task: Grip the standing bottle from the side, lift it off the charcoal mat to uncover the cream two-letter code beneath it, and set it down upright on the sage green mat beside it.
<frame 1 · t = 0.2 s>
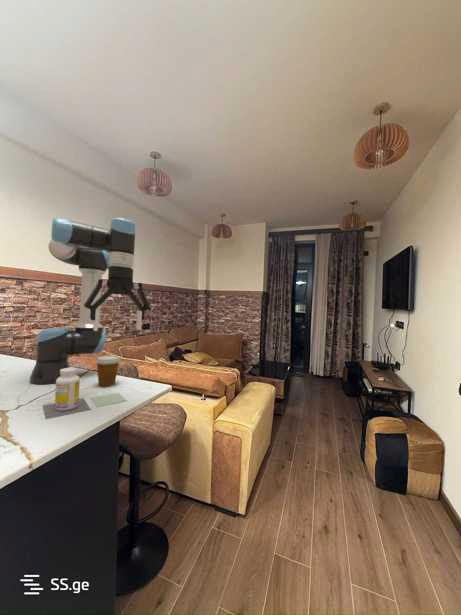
hand: (118, 329, 80), 27 cm above the countertop, tool pointing down, fingers open, 13 cm apart
supplement bottle: (66, 407, 80), resting on code mat
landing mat: (108, 399, 89), on the countertop
disposable coffee cup: (106, 385, 105), on the countertop
code mat: (66, 407, 80), on the countertop
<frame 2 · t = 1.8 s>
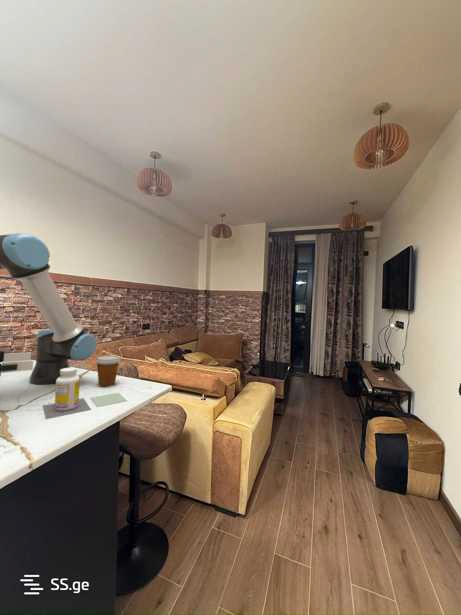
hand: (32, 360, 74), 17 cm above the countertop, tool horizontal, fingers open, 13 cm apart
nothing on the countertop moved.
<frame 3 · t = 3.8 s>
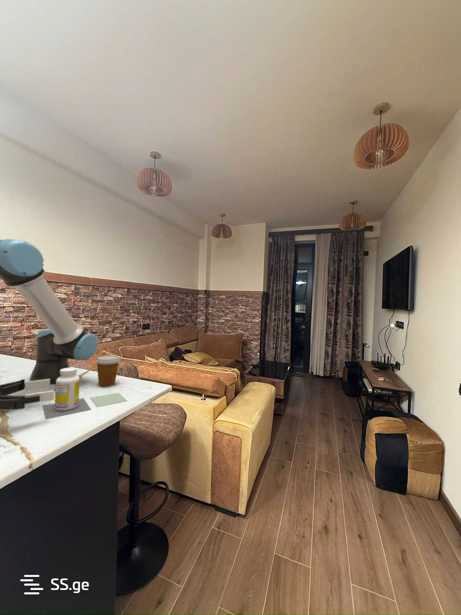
hand: (51, 388, 77), 7 cm above the countertop, tool horizontal, fingers open, 13 cm apart
nothing on the countertop moved.
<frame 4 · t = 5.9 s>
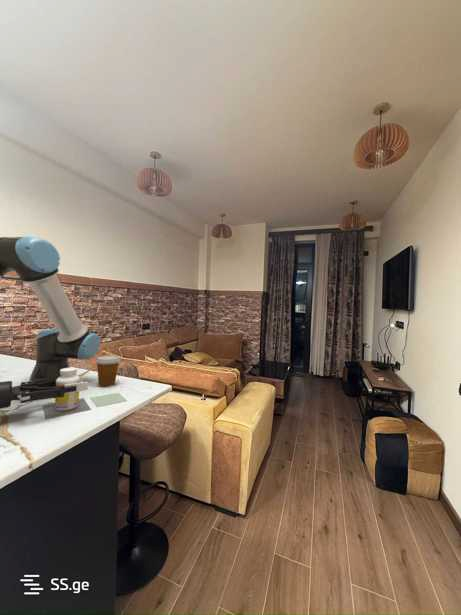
hand: (85, 382, 84), 8 cm above the countertop, tool horizontal, fingers closed on supplement bottle, 7 cm apart
supplement bottle: (66, 407, 80), resting on code mat, touching gripper
everything else where it was.
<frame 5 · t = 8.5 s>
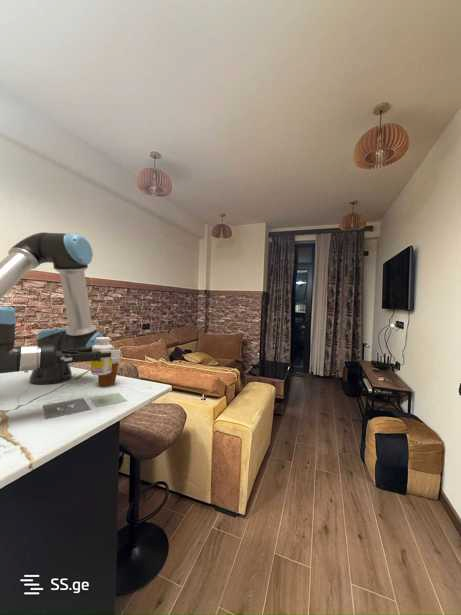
hand: (117, 351, 90), 18 cm above the countertop, tool horizontal, fingers closed on supplement bottle, 7 cm apart
supplement bottle: (101, 373, 86), point 10 cm above the countertop, touching gripper
everything else where it was.
when the fingers open (9 cm above the countertop, at t = 11.2 s): supplement bottle drops 1 cm, resting on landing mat.
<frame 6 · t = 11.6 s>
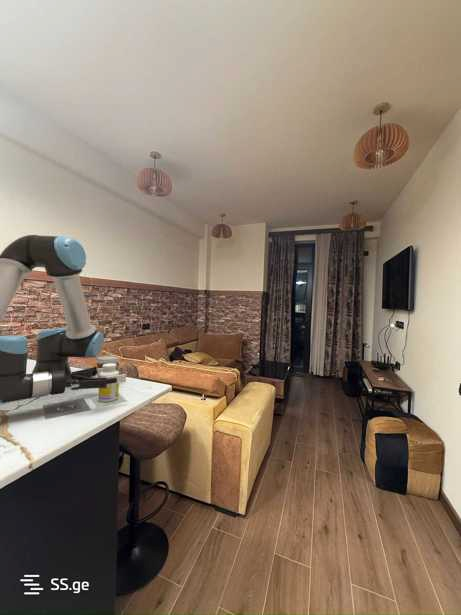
hand: (120, 373, 91), 9 cm above the countertop, tool horizontal, fingers open, 12 cm apart
supplement bottle: (108, 399, 89), resting on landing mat
everything else where it was.
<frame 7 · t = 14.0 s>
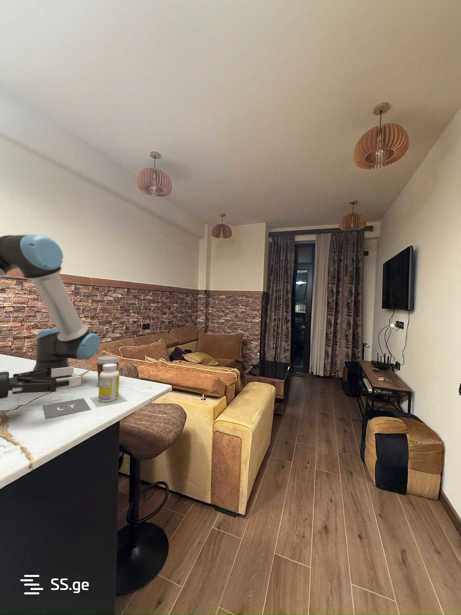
hand: (77, 375, 82), 11 cm above the countertop, tool horizontal, fingers open, 13 cm apart
nothing on the countertop moved.
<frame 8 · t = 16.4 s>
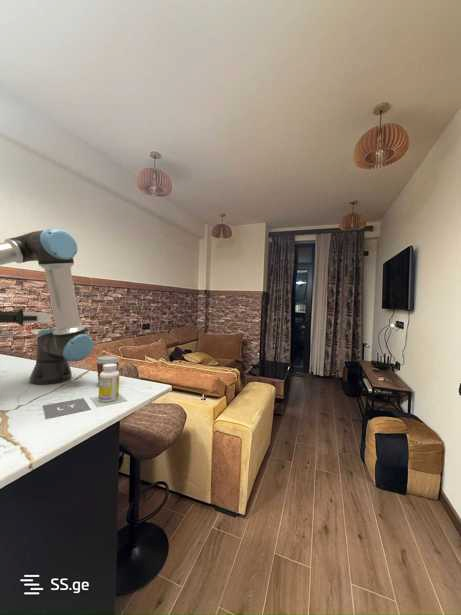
hand: (48, 317, 83), 30 cm above the countertop, tool horizontal, fingers open, 13 cm apart
nothing on the countertop moved.
at the end: supplement bottle 0.1 cm off-centre on the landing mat, point 0.0 cm above the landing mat's base; supplement bottle tilted 0°; the gripper is holding nothing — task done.
